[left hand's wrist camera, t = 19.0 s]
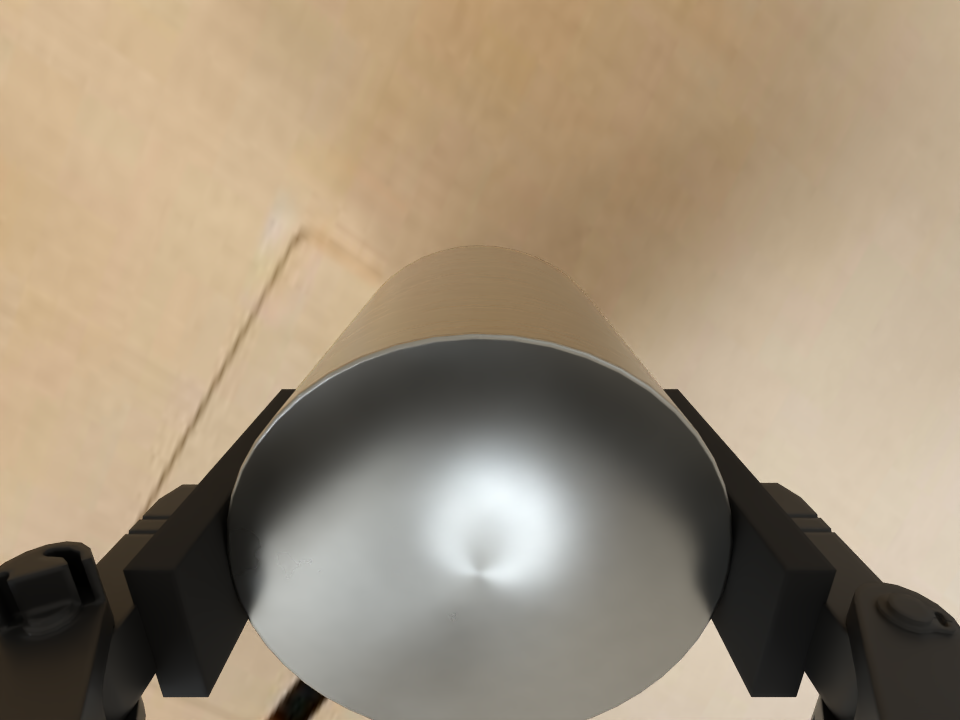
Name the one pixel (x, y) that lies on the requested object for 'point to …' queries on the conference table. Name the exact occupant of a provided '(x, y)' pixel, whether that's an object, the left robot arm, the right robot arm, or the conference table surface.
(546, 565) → the tin
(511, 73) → the conference table surface
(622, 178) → the conference table surface
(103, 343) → the conference table surface
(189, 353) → the conference table surface
